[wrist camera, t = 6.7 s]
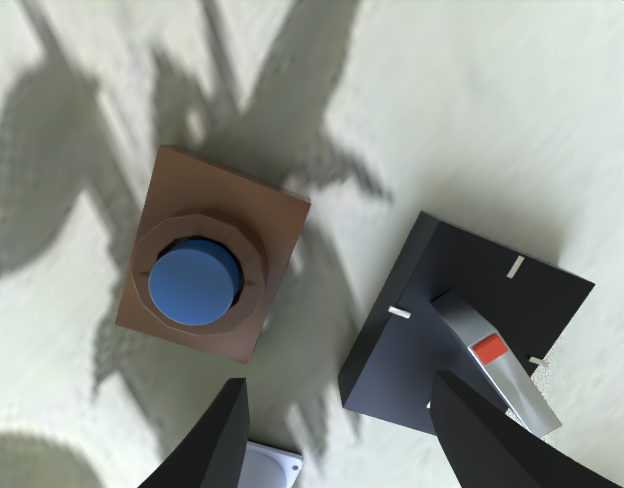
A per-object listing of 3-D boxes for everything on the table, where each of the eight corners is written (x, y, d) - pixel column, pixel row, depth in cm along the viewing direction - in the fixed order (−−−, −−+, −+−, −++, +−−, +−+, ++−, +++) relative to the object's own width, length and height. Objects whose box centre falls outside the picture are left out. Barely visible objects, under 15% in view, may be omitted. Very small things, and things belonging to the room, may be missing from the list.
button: (226, 319, 19) (219, 336, 17) (153, 296, 18) (139, 310, 17) (250, 255, 18) (244, 266, 16) (173, 228, 17) (159, 236, 16)
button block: (250, 350, 23) (242, 384, 20) (127, 311, 22) (96, 341, 19) (310, 199, 20) (312, 209, 17) (171, 144, 19) (143, 143, 16)
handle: (509, 368, 21) (566, 429, 16) (488, 381, 21) (539, 445, 17) (452, 288, 19) (499, 331, 14) (429, 303, 19) (469, 350, 15)
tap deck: (463, 416, 26) (485, 452, 23) (332, 376, 24) (337, 408, 21) (562, 268, 22) (603, 287, 19) (416, 208, 21) (436, 218, 18)
